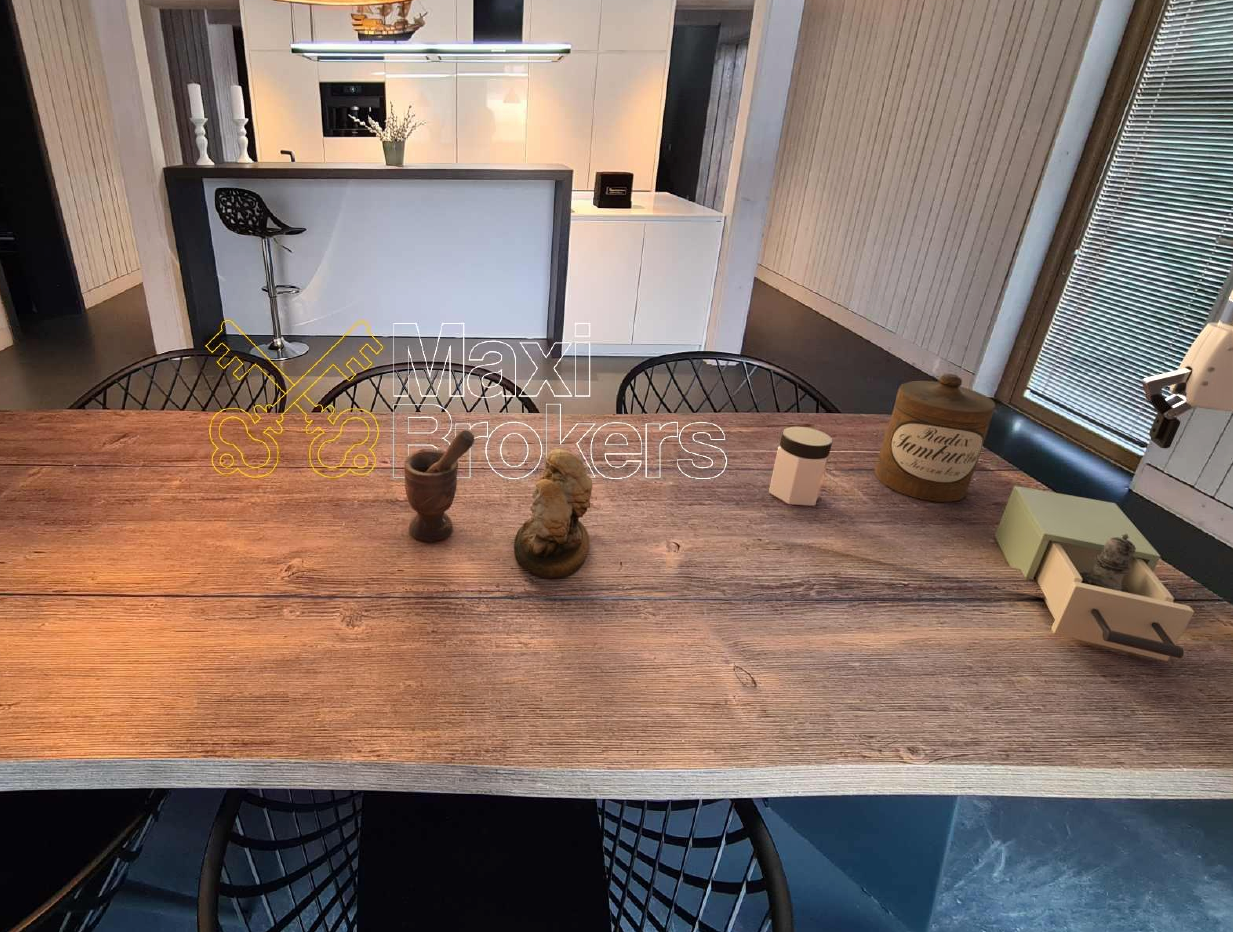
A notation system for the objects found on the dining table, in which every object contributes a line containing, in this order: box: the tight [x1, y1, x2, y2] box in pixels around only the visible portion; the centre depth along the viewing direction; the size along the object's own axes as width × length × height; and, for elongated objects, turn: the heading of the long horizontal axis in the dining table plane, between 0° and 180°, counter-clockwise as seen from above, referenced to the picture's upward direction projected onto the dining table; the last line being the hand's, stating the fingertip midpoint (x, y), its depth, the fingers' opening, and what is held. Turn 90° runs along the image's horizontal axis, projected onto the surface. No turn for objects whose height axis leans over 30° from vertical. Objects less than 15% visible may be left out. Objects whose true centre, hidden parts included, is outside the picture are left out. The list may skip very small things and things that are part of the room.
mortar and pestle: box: [403, 429, 475, 543], centre depth 107 cm, size 12×9×20 cm
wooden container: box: [874, 373, 996, 503], centre depth 123 cm, size 15×15×22 cm
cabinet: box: [994, 485, 1162, 581], centre depth 100 cm, size 15×13×10 cm
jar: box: [768, 426, 833, 507], centre depth 120 cm, size 9×8×12 cm
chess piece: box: [1079, 534, 1136, 593], centre depth 89 cm, size 6×6×12 cm
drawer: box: [1034, 540, 1195, 662], centre depth 88 cm, size 19×12×8 cm, turn 156°
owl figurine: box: [513, 448, 593, 580], centre depth 104 cm, size 18×12×17 cm, turn 167°
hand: (1208, 450), depth 84 cm, fingers open, 9 cm apart
